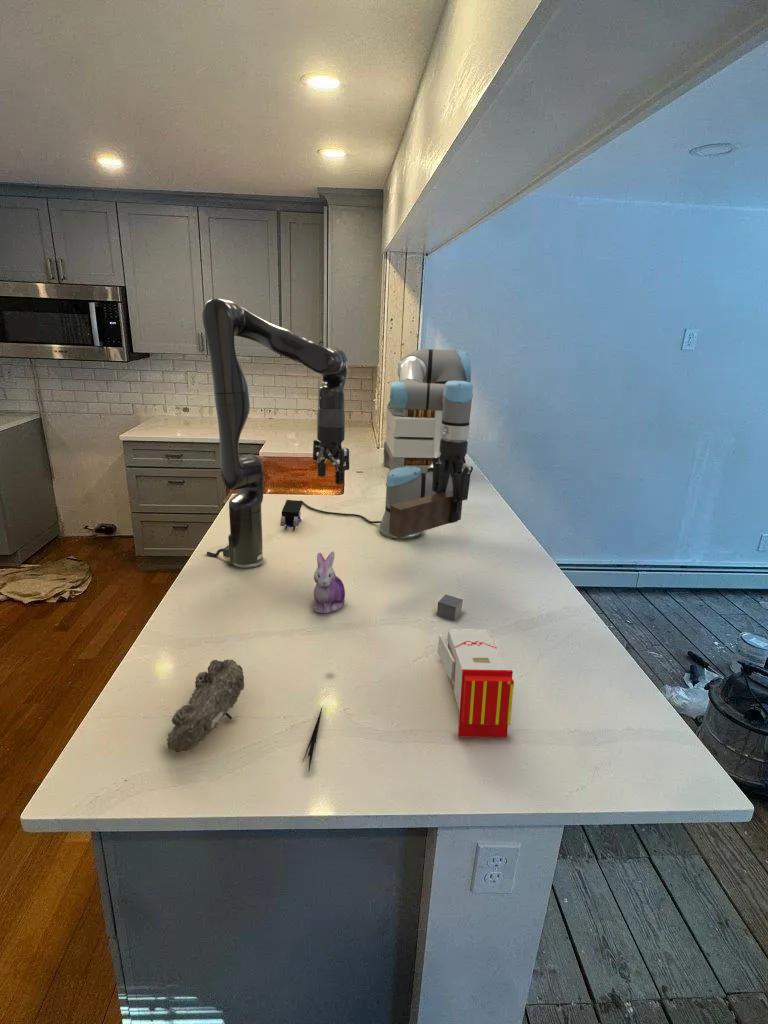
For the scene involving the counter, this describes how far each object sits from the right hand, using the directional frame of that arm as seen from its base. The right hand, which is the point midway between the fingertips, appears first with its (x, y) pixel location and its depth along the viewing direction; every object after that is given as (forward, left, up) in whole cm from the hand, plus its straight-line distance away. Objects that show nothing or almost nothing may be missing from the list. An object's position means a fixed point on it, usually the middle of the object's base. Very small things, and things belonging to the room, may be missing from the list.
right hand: (447, 519), depth 162 cm
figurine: (-6, -37, -19) cm, 42 cm away
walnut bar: (0, -8, 0) cm, 9 cm away
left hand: (-24, -24, +10) cm, 35 cm away
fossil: (+16, -80, -19) cm, 83 cm away
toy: (+41, -34, -19) cm, 56 cm away
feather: (+29, -64, -19) cm, 72 cm away
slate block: (+16, -14, -19) cm, 28 cm away
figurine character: (-61, -14, -19) cm, 65 cm away
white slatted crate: (-86, +73, -19) cm, 114 cm away
